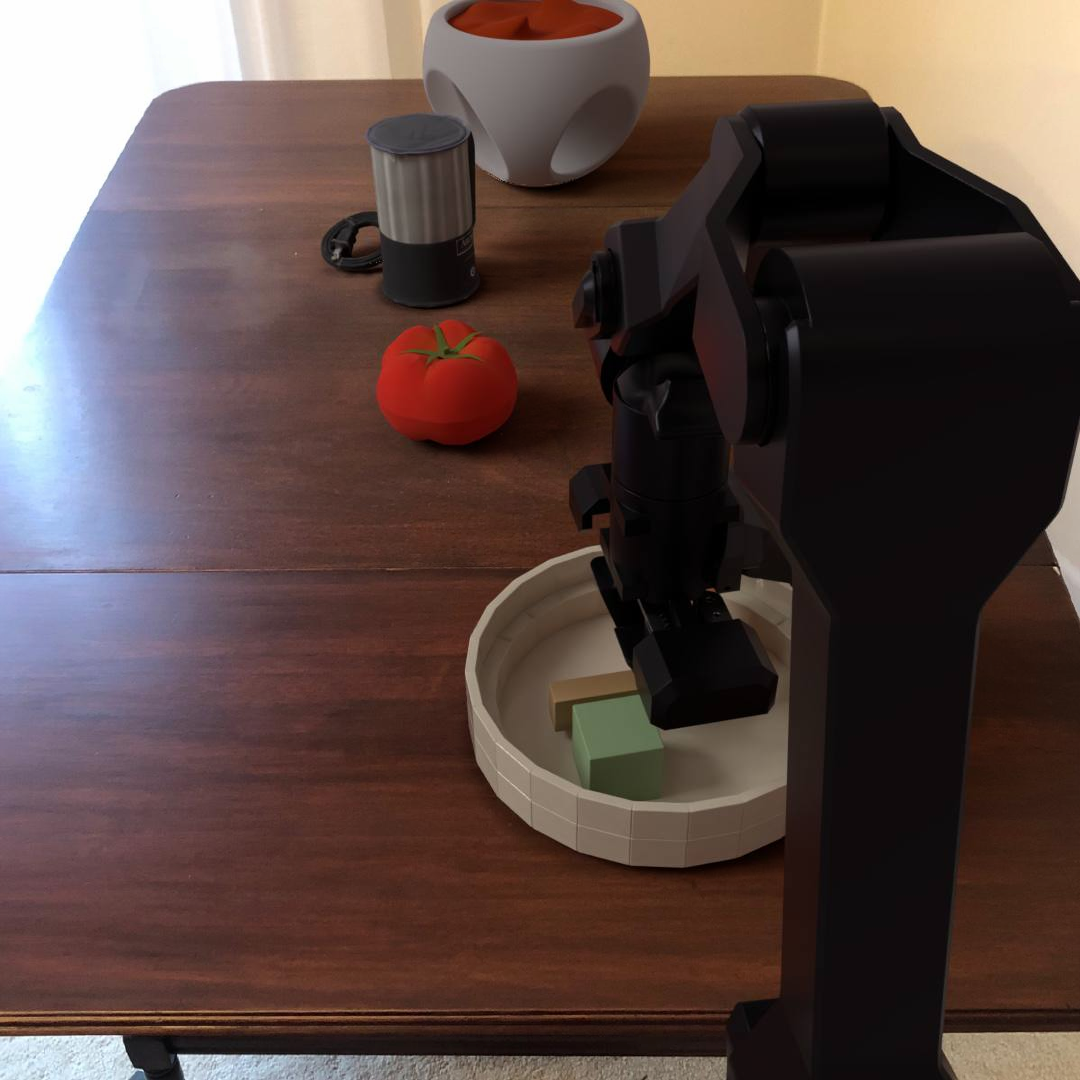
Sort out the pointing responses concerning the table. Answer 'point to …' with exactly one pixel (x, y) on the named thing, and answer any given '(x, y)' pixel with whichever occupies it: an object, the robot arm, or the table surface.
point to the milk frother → (417, 211)
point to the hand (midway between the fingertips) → (655, 693)
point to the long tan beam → (586, 694)
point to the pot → (539, 82)
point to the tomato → (446, 384)
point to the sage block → (618, 749)
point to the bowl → (690, 753)
